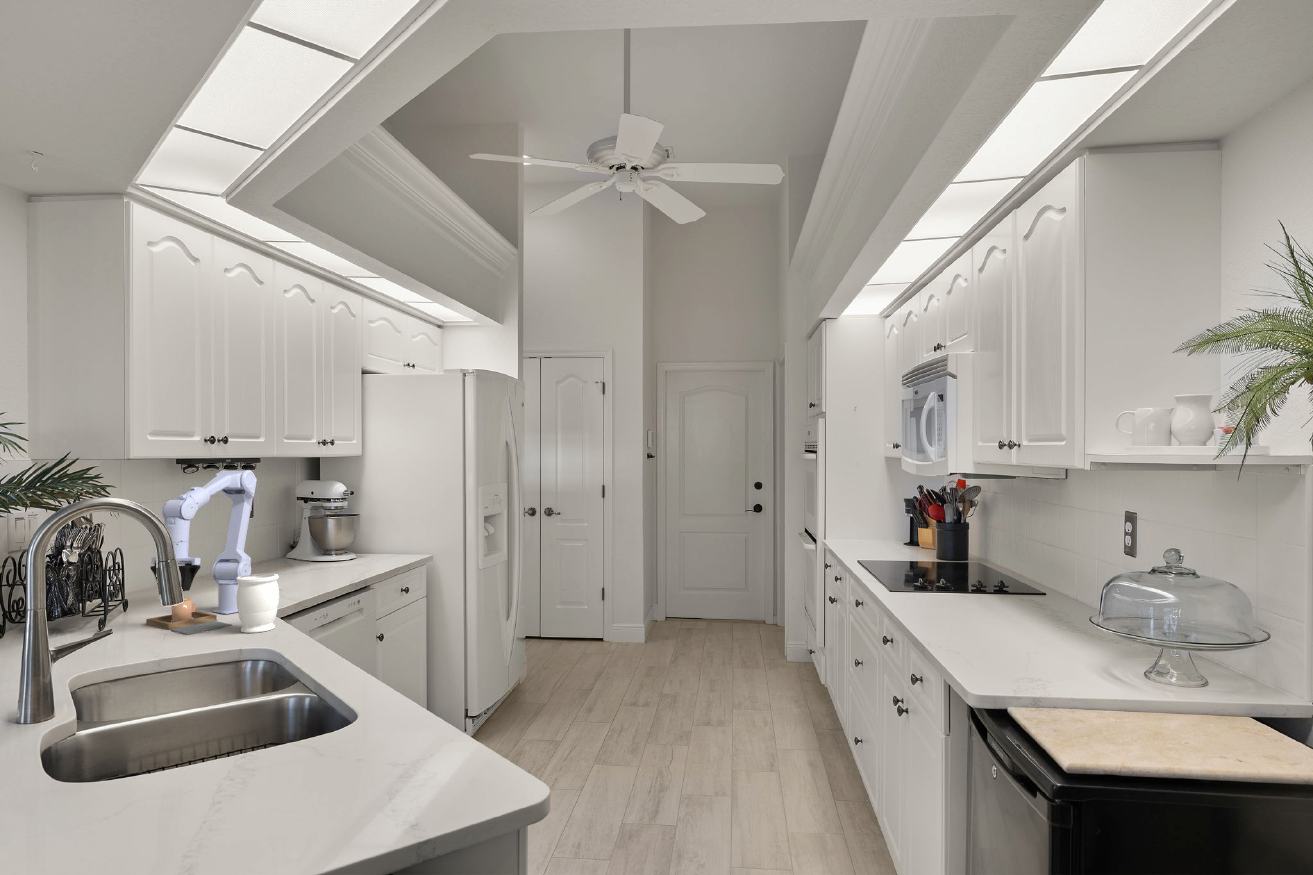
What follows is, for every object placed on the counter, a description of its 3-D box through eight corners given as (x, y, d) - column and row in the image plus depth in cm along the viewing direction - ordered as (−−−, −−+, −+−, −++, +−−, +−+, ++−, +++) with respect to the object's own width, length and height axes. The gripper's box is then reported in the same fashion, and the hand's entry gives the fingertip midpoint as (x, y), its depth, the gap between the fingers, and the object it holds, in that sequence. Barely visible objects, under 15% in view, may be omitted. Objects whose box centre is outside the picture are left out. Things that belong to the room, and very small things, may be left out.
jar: (227, 633, 203) (227, 578, 203) (257, 624, 213) (257, 572, 213) (258, 635, 200) (258, 579, 200) (287, 626, 210) (287, 573, 210)
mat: (215, 622, 216) (215, 620, 216) (231, 625, 212) (231, 624, 212) (170, 631, 206) (170, 629, 206) (187, 634, 201) (187, 633, 201)
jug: (176, 625, 213) (176, 600, 213) (168, 623, 216) (168, 599, 216) (199, 621, 218) (199, 597, 218) (190, 619, 221) (190, 595, 221)
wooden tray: (193, 615, 225) (193, 610, 225) (216, 620, 219) (216, 615, 219) (146, 624, 214) (146, 618, 214) (168, 629, 208) (168, 624, 208)
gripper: (143, 542, 207) (140, 591, 206) (187, 542, 204) (184, 592, 203) (164, 541, 214) (161, 588, 213) (207, 541, 211) (204, 589, 210)
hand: (174, 590), depth 208 cm, fingers open, 7 cm apart
